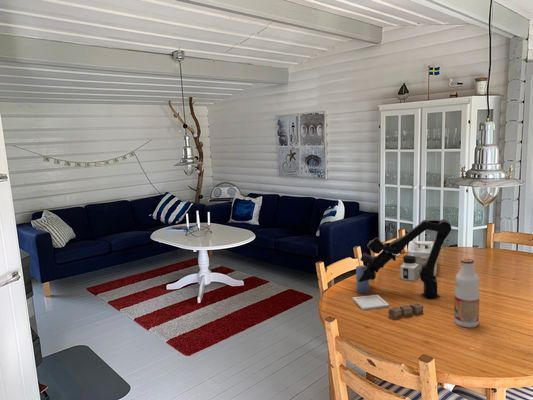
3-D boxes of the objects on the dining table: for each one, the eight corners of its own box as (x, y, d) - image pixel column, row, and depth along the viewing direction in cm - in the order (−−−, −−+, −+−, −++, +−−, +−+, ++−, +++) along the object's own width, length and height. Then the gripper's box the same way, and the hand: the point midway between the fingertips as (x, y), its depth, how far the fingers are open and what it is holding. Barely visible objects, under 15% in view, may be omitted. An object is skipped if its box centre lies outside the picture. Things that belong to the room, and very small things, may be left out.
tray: (377, 296, 206) (377, 294, 206) (389, 307, 193) (389, 304, 193) (352, 299, 204) (352, 297, 204) (362, 310, 191) (362, 308, 191)
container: (414, 281, 224) (414, 258, 222) (400, 279, 228) (400, 256, 226) (418, 277, 230) (418, 254, 228) (405, 274, 234) (404, 253, 233)
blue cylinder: (371, 292, 212) (371, 268, 210) (360, 294, 210) (359, 270, 208) (365, 288, 218) (364, 265, 216) (354, 290, 216) (353, 266, 214)
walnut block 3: (423, 314, 184) (423, 305, 183) (416, 316, 182) (416, 307, 182) (416, 310, 187) (416, 302, 187) (409, 312, 186) (409, 304, 185)
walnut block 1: (401, 317, 182) (401, 309, 181) (396, 320, 179) (396, 311, 179) (394, 314, 185) (394, 306, 184) (388, 317, 182) (388, 309, 182)
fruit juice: (470, 330, 166) (471, 264, 162) (449, 322, 174) (450, 259, 170) (483, 323, 171) (484, 259, 167) (462, 316, 179) (463, 254, 175)
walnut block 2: (412, 316, 182) (412, 308, 181) (404, 318, 181) (404, 309, 180) (407, 313, 186) (407, 304, 185) (399, 314, 185) (399, 305, 184)
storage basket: (437, 277, 228) (438, 252, 225) (407, 275, 234) (407, 250, 231) (437, 264, 250) (437, 241, 247) (409, 262, 256) (409, 240, 253)
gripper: (371, 243, 218) (351, 262, 223) (367, 253, 200) (346, 274, 206) (387, 258, 216) (366, 277, 222) (384, 270, 199) (362, 289, 204)
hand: (360, 279), depth 213 cm, fingers closed on blue cylinder, 6 cm apart
